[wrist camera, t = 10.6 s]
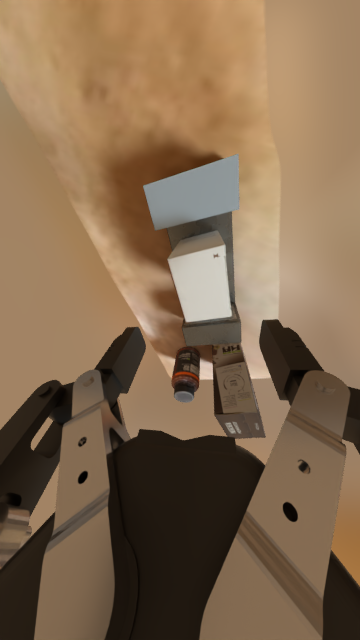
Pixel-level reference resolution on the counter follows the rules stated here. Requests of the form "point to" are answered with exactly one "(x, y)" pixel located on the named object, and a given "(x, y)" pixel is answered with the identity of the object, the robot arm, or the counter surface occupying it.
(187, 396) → the supplement bottle
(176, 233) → the vise bed
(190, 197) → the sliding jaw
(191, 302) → the small box
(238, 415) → the coffee box
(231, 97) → the counter surface
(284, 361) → the robot arm
